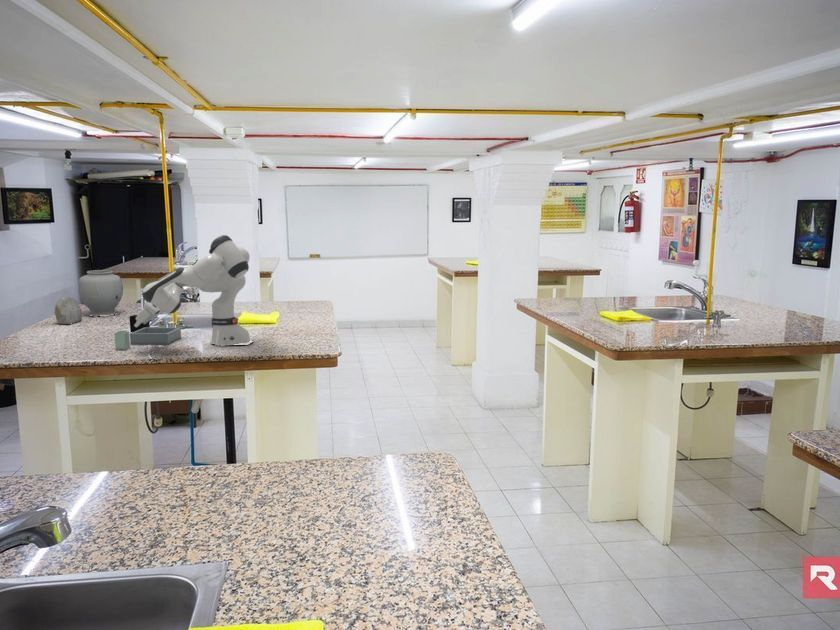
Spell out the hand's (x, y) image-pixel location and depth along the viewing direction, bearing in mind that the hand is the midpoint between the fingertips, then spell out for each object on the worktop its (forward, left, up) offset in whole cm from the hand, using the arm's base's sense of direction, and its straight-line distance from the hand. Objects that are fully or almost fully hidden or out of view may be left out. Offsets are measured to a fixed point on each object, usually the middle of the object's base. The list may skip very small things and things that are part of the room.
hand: (139, 324), depth 327 cm
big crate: (+1, -20, -13) cm, 24 cm away
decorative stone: (+78, -75, -13) cm, 109 cm away
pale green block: (+10, 0, -13) cm, 16 cm away
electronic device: (+21, -45, -13) cm, 52 cm away
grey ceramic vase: (+73, -105, -13) cm, 129 cm away
